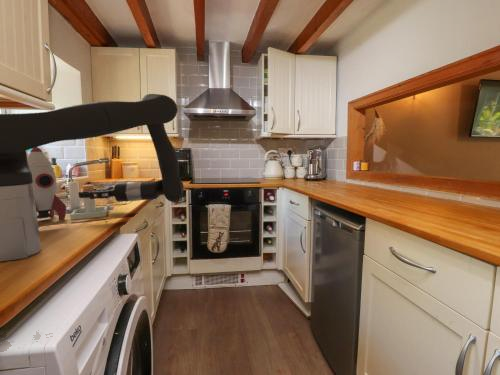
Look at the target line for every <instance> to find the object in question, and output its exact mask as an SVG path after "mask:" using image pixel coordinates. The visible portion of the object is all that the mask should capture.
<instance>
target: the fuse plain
mask: <svg viewBox="0 0 500 375" xmlns="http://www.w3.org/2000/svg"><path fill="white" fill-rule="evenodd" d="M67 187H68V196H69V208H71V213H72V212H73V211H74V210H75V209H80V208H82V204H81V203H82V202H81V198H79V192H81V190H80V184H79V181H68V182H67Z"/></svg>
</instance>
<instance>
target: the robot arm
mask: <svg viewBox="0 0 500 375" xmlns="http://www.w3.org/2000/svg"><path fill="white" fill-rule="evenodd" d="M177 114H178V105H177V103H176V102H175V100H174V99H173V98H172V97H170V96H168V95H165V94H159V93H148V94H145V95H144V96H143V97H142V98H141V100H140V101H139V100H138V101H118V100H111V101H110V100H109V101H106V100H105V101H94V102H88V103H80V104H79V103H78V104H74V105H71V106H66V107H61V108H58V109H54V110H50V111H49V110H48V111H43V112H42V111H40V112H27V113H26V112H25V113H0V263H1V262H8V261H14V260H22V259H27V258H29V257H31V256H33V255H35V254H38V253H39V252H41V250H42V247H41V239H40V231H39V222H38V218H37V214H38V212H37V213H36V205H35V196H34V188H33V179H32V173H31V171H30V169H29V166H28V162H27V157H28V155H27V151H28V150H32V149H33V148H35V147H38V148H39V147H41V146H45V145H49V144H52V143H56V142H61V141H62V142H63V141H64V142H65V141H76V140H84V139H92V138H97V137H102V136H106V135H112V134H114V133H115V134H116V133H119V132H123V131H127V130H131V129H135V128H138V127H141V126H142V127H143V126H146V127H147V130H148V133H149V135H150V138H151V141H152V144H153V147H154V150H155V153H156V158H157V162H158V167H159V171H160V174H161V179H159V180H154V181H117V182H116V183H115V184H114V186H103V187H100V188H94V191H87V192H83V191H80V192H79V198H80V199H84V198H90V199H95V200H96V199H111V198H112V197H113V198H114V199H115V200H116V201H117V202H118V203H119V202H120V203H121V202H139V201H150V200H151V201H152V200H156V199H158V198H159V197H160V196H164V197H165V199H167V201H169V202H171V203H175V202H179V201H180V200H181V199H182V197H183V195H184V188H185V187H184V183H183V181H182V180H181V178H180V165H179V164H180V163H179V160H178V155H177V152H176V150H175V148H174V145H173V144H172V141H171V140H170V139H169V136H168V133H167V131H166V128H165V124H168V123H170V122H172V121H173V120H174V119H175V118H176V116H177Z"/></svg>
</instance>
